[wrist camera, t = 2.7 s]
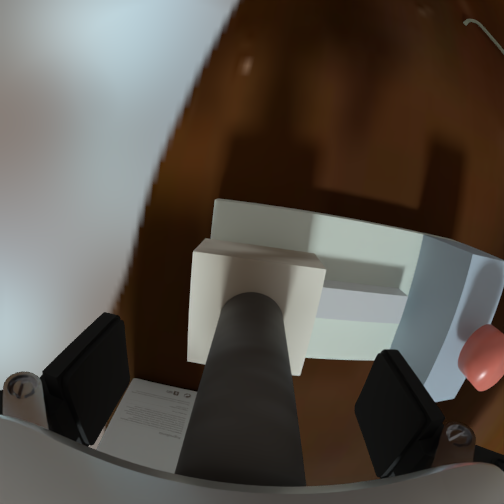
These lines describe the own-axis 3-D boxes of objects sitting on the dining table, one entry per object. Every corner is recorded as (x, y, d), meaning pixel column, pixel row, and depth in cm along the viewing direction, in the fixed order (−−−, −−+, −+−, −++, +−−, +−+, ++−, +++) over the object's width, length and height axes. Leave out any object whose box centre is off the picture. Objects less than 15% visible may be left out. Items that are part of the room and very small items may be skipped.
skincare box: (134, 374, 22) (56, 513, 7) (206, 390, 22) (166, 556, 7) (142, 430, 24) (95, 545, 9) (202, 444, 24) (176, 571, 9)
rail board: (451, 239, 18) (510, 262, 11) (416, 350, 21) (454, 398, 14) (218, 198, 18) (193, 207, 11) (205, 334, 20) (184, 395, 14)
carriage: (310, 247, 17) (422, 415, 4) (292, 334, 18) (324, 529, 5) (210, 233, 17) (79, 379, 4) (202, 322, 18) (132, 509, 5)
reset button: (502, 323, 11) (522, 338, 9) (482, 369, 12) (498, 387, 10) (472, 324, 11) (493, 341, 9) (449, 374, 12) (466, 394, 10)
